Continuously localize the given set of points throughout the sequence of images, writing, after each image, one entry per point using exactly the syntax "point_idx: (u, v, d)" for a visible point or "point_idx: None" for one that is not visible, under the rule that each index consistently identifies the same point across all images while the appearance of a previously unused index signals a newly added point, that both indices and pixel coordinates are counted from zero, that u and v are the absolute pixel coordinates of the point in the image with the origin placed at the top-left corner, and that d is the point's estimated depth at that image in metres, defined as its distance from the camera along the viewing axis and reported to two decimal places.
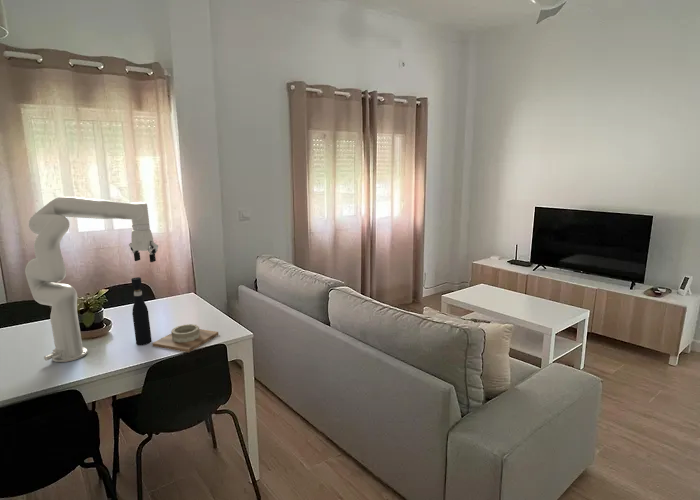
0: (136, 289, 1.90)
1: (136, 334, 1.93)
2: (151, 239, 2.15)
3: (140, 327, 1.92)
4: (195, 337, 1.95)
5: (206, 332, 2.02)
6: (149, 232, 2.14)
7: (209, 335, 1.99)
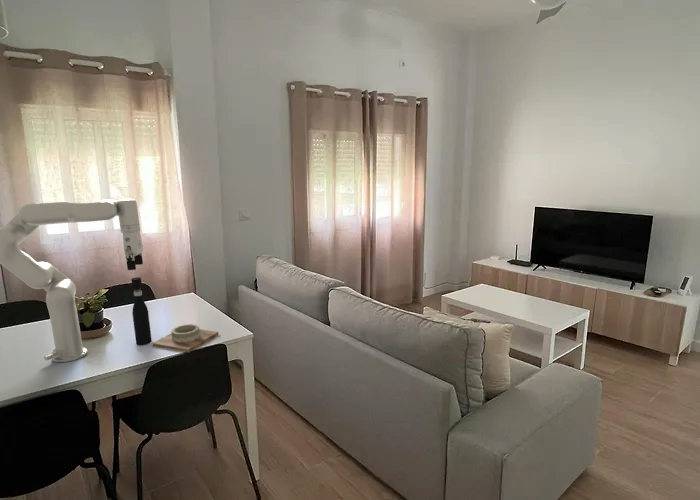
0: (136, 289, 1.90)
1: (136, 334, 1.93)
2: None
3: (140, 327, 1.92)
4: (195, 337, 1.95)
5: (206, 332, 2.02)
6: None
7: (209, 335, 1.99)
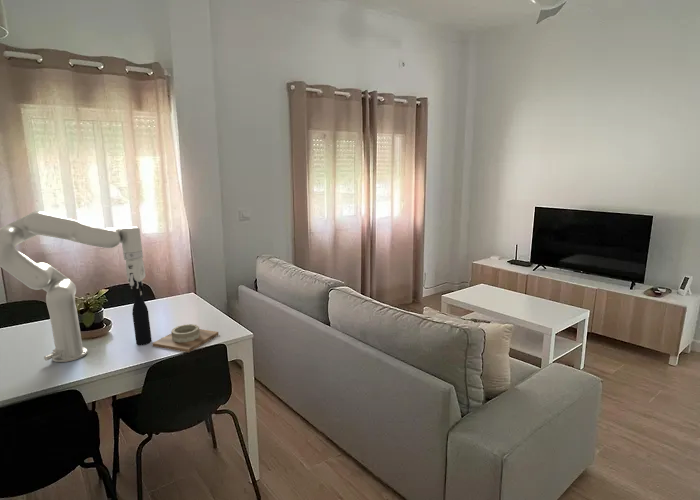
0: None
1: (136, 334, 1.93)
2: None
3: (140, 327, 1.92)
4: (195, 337, 1.95)
5: (206, 332, 2.02)
6: None
7: (209, 335, 1.99)
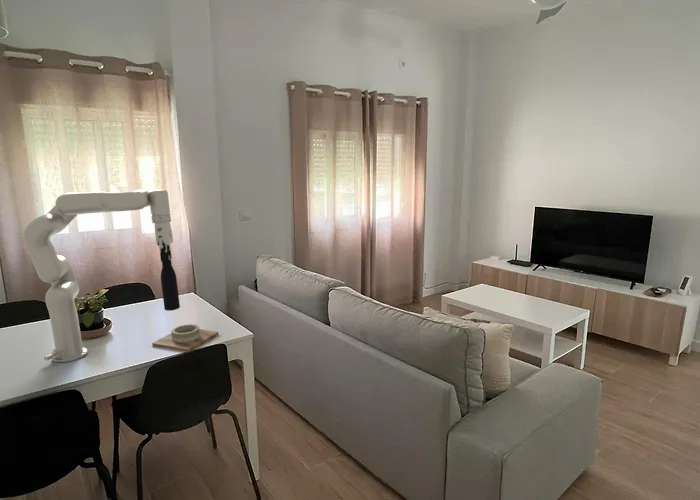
0: None
1: (165, 299, 1.91)
2: None
3: (169, 292, 1.89)
4: (195, 337, 1.95)
5: (206, 332, 2.02)
6: None
7: (209, 335, 1.99)
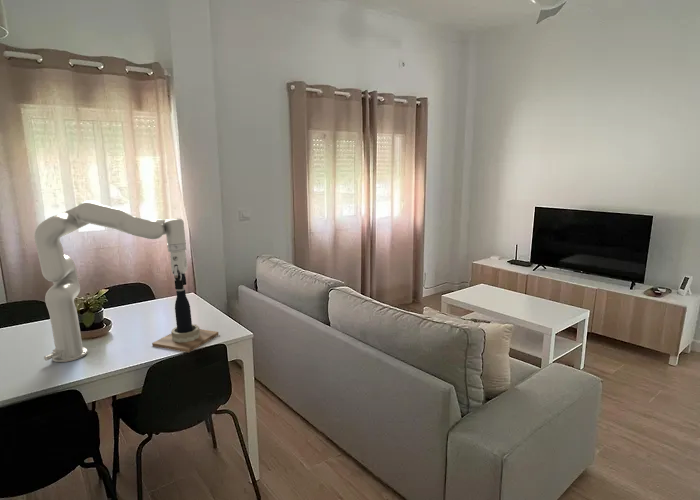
0: None
1: (178, 329, 1.94)
2: None
3: (183, 322, 1.93)
4: (195, 337, 1.95)
5: (206, 332, 2.02)
6: None
7: (209, 335, 1.99)
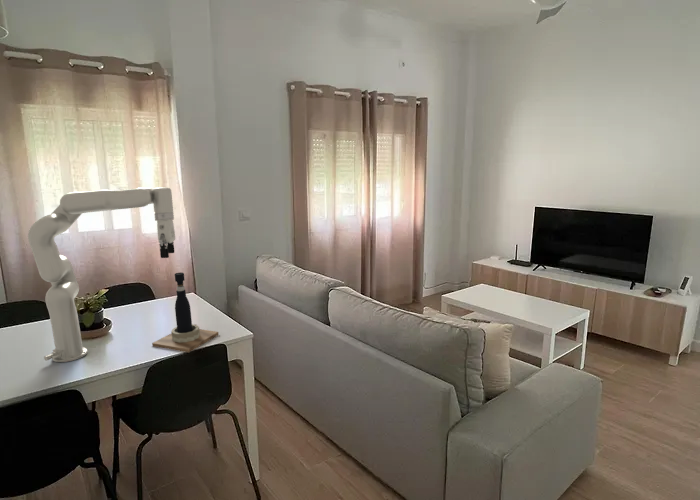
0: (179, 284, 1.91)
1: (178, 329, 1.94)
2: None
3: (183, 322, 1.93)
4: (195, 337, 1.95)
5: (206, 332, 2.02)
6: None
7: (209, 335, 1.99)
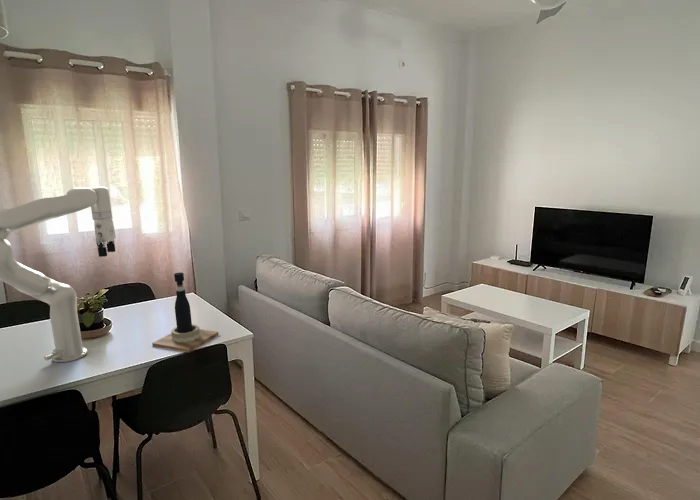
0: (179, 284, 1.91)
1: (178, 329, 1.94)
2: None
3: (183, 322, 1.93)
4: (195, 337, 1.95)
5: (206, 332, 2.02)
6: None
7: (209, 335, 1.99)
